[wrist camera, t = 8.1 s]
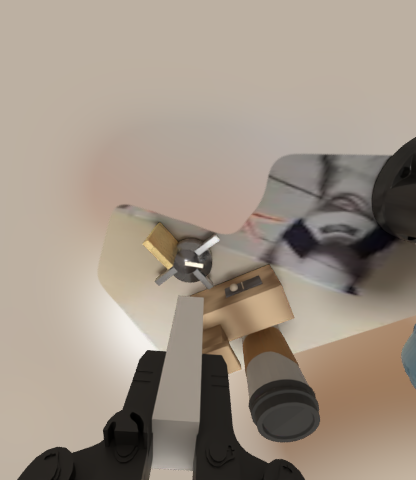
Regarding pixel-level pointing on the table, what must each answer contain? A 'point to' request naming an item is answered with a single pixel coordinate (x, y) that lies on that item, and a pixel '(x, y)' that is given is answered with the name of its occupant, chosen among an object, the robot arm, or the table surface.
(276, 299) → the wooden drawer box
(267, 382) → the coffee cup
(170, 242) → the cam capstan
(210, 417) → the robot arm
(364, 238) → the table surface
